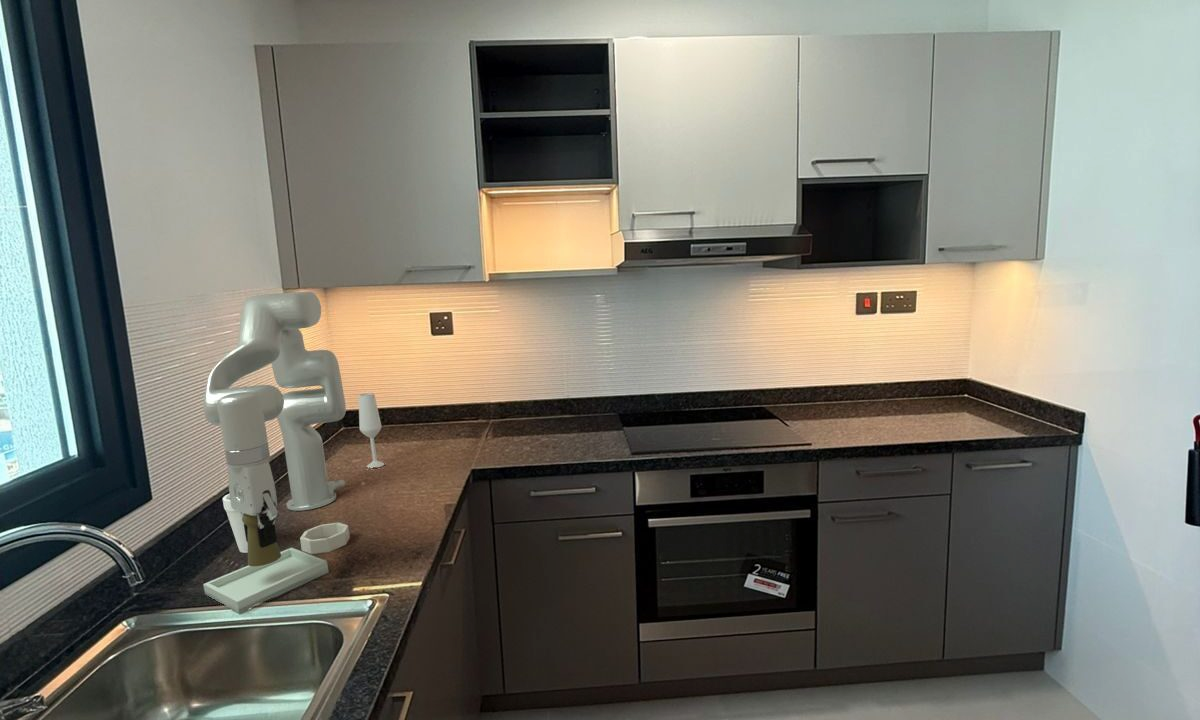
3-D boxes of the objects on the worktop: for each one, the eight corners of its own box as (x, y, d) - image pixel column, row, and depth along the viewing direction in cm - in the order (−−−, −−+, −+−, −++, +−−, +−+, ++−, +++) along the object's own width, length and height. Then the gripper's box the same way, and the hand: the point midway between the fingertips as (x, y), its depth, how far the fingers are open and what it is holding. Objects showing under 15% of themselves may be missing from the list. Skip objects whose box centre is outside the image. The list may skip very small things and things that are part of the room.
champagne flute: (383, 468, 200) (373, 395, 197) (361, 470, 200) (352, 397, 197) (388, 462, 207) (380, 391, 204) (368, 463, 207) (359, 393, 203)
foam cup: (284, 536, 151) (276, 485, 149) (265, 553, 142) (256, 499, 140) (244, 539, 151) (236, 488, 149) (223, 557, 142) (213, 502, 140)
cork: (249, 557, 128) (241, 506, 126) (282, 550, 130) (274, 499, 129) (245, 569, 122) (237, 515, 121) (280, 561, 125) (271, 509, 123)
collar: (333, 532, 151) (331, 520, 151) (356, 539, 146) (355, 527, 145) (295, 548, 144) (293, 535, 143) (318, 556, 138) (316, 544, 138)
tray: (292, 558, 138) (291, 547, 138) (328, 572, 130) (327, 561, 130) (205, 595, 124) (203, 584, 124) (239, 614, 116) (237, 601, 115)
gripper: (208, 455, 125) (222, 541, 128) (249, 465, 115) (264, 558, 118) (246, 445, 131) (259, 527, 134) (289, 454, 121) (302, 543, 124)
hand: (261, 541), depth 126 cm, fingers closed on cork, 4 cm apart
